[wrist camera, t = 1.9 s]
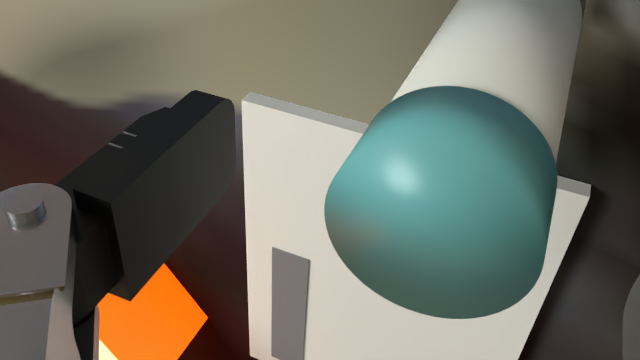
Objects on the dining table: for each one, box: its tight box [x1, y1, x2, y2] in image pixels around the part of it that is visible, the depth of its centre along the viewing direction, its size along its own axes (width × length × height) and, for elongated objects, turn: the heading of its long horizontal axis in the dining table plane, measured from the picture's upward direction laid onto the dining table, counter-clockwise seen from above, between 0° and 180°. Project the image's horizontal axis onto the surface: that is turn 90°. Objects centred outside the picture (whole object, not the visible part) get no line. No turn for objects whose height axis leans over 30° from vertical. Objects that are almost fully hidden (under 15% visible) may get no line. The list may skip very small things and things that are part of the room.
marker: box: [324, 0, 586, 319], centre depth 14 cm, size 4×4×12 cm
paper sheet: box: [242, 92, 591, 360], centre depth 29 cm, size 14×18×1 cm
